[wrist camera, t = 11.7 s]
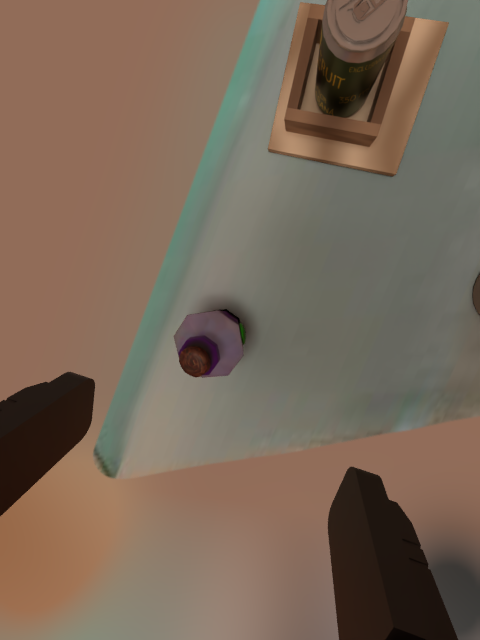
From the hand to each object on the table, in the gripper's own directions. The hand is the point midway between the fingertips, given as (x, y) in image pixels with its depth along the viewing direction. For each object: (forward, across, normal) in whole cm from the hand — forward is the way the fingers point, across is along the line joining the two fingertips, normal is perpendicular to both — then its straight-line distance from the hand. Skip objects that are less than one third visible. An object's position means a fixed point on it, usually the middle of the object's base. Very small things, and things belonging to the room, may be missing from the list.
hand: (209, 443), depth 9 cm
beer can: (+30, -1, -21) cm, 37 cm away
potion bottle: (+31, +6, +8) cm, 33 cm away
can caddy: (+31, -1, -21) cm, 37 cm away
